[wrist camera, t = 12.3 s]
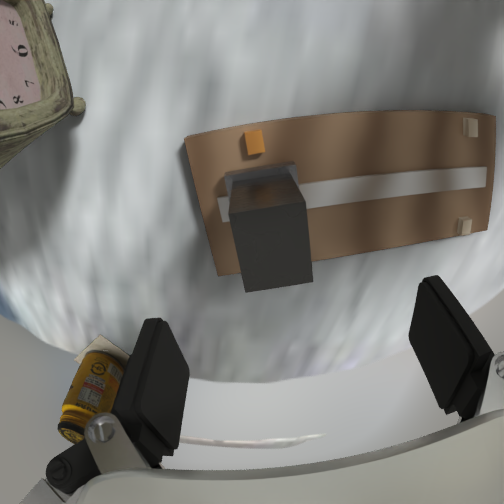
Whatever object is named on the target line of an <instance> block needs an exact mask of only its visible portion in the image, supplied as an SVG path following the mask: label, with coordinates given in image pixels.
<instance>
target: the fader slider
mask: <svg viewBox="0 0 504 504" xmlns="http://www.w3.org/2000/svg"><path fill="white" fill-rule="evenodd" d="M224 179H225V184H226V188H227V193H228V198H229V203H230V204H229V212H228V215H229V220H230V225H231V229H232V234H233V238H234V243H235V247H236V252H237V256H238V261H239V265H240V270H241V274H242V279H243V283H244V288H245V292H253V291H259V290H266V289H272V288H279V287H285V286H291V285H297V284H303V283H309V282H313V274H312V261H311V249H310V238H309V228H308V217H307V208H306V201H305V199H304V197H303V195H302V194H301V192H300V190H299V184H298V176H297V168H296V164H295V162H294V161H290V162H283V163H276V164H270V165H264V166H257V167H251V168H245V169H240V170H234V171H229V172H225V174H224Z"/></svg>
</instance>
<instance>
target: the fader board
mask: <svg viewBox="0 0 504 504" xmlns="http://www.w3.org/2000/svg"><path fill="white" fill-rule="evenodd" d="M184 141H185V145H186V150H187V154H188V158H189V163H190V167H191V171H192V175H193V179H194V184H195V188H196V192H197V196H198V200H199V204H200V208H201V212H202V216H203V220H204V224H205V228H206V232H207V236H208V240H209V243H210V247H211V251H212V255H213V259H214V262H215V266H216V270H217V274H218V276H223V275H230V274H236V273H241V270H240V265H239V261H238V256H237V252H236V247H235V243H234V238H233V234H232V229H231V225H230V220H229V215H228V212H229V204H230V203H229V198H228V193H227V188H226V184H225V179H224V174H225V172H229V171H234V170H240V169H245V168H251V167H257V166H264V165H270V164H276V163H283V162H290V161H294V162H295V164H296V168H297V176H298V184H299V190H300V192H301V194H302V195H303V197H304V199H305V201H306V208H307V217H308V228H309V238H310V249H311V261H318V260H324V259H330V258H336V257H342V256H348V255H354V254H360V253H365V252H371V251H377V250H383V249H388V248H394V247H400V246H405V245H411V244H416V243H422V242H427V241H433V240H438V239H443V238H449V237H454V236H459V235H461V236H464V235H469V234H470V233H475V232H480V231H485V230H487V228H488V222H489V215H490V208H491V201H492V192H493V182H494V169H495V148H496V116H493V115H489V114H483V113H471V112H456V111H432V110H387V111H361V112H345V113H332V114H321V115H311V116H302V117H293V118H285V119H278V120H271V121H264V122H258V123H252V124H246V125H240V126H234V127H229V128H224V129H218V130H213V131H209V132H204V133H199V134H195V135H190V136H187V137H186V138H184Z"/></svg>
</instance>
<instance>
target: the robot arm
mask: <svg viewBox="0 0 504 504" xmlns="http://www.w3.org/2000/svg"><path fill="white" fill-rule="evenodd" d="M409 341H410V343H411V345H412V347H413V349H414V351H415V353H416V356H417V358H418V360H419V362H420V364H421V366H422V369H423V371H424V373H425V375H426V377H427V380H428V382H429V384H430V386H431V389H432V391H433V393H434V396H435V398H436V400H437V403H438V405H439V407H440V408H441V409H444V411H445V413H446V415H447V414H450V413H452V412H455V411H457V412H458V414H459V419H458V422H457V424H456V425H454V426H451V427H449V428H446V429H443V430H440V431H438V432H435V433H432V434H429V435H426V436H423V437H420V438H417V439H414V440H411V441H408V442H405V443H401V444H398V445H394V446H391V447H387V448H383V449H380V450H376V451H372V452H367V453H363V454H359V455H354V456H350V457H345V458H340V459H334V460H329V461H323V462H317V463H310V464H303V465H296V466H286V467H276V468H265V469H249V470H175V469H165V468H164V466H163V465H162V464H161V461H162V456H173V453H174V449H177V448H178V445H179V439H180V432H181V425H182V418H183V411H184V406H185V399H186V393H187V387H188V381H189V367H188V365H187V363H186V361H185V359H184V357H183V355H182V352H181V350H180V348H179V346H178V344H177V342H176V340H175V338H174V336H173V333H172V331H171V329H170V327H169V325H168V323H167V322H166V321H163V320H162V319H161V318H150V319H145V321H144V323H143V326H142V329H141V331H140V334H139V337H138V340H137V342H136V345H135V348H134V351H133V354H131V355H130V357H129V359H128V361H127V364H126V367H125V370H124V373H123V376H122V379H121V382H120V385H119V388H118V391H117V394H116V397H115V400H114V403H113V406H112V410H111V413H106V412H105V413H99V414H97V415H95V416H93V417H92V418H91V419H90V420H89V421H88V422H87V424H86V427H85V431H84V435H85V438H84V439H82V440H81V441H79V442H78V443H76V444H75V445H73V446H72V447H70V448H68V449H67V450H65V451H64V452H62V453H61V454H59V455H57V456H56V457H54V458H53V459H52V460H51V461H50V462H49V464H48V465H47V468H46V477H47V478H46V479H45V480H44V479H43V478H41V480H40V481H39V482H38V483H37V484H36V485H35V486H34V487H33V489H32V490H31V491H30V492H29V493H28V494H27V495H26V497H25V498H24V499H23V500H22V501H21V502H20V503H19V504H504V351H503V352H499V353H497V354H496V355H494V353H493V351H492V350H491V348H490V347H489V345H488V343H487V342H486V340H485V339H484V337H483V336H482V334H481V333H480V331H479V330H478V329H477V327H476V326H475V324H474V322H473V321H472V320H471V318H470V317H469V315H468V314H467V313H466V311H465V310H464V308H463V307H462V306H461V304H460V303H459V301H458V300H457V299H456V297H455V296H454V295H453V293H452V292H451V291H450V289H449V288H448V287H447V286H446V284H445V283H444V282H443V280H442V279H441V278H440V277H439V276H438V275H435V276H430V277H426V278H424V279H423V280H422V282H421V283H420V284H419V286H418V292H417V297H416V302H415V307H414V312H413V317H412V322H411V326H410V330H409Z"/></svg>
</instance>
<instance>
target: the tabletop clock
mask: <svg viewBox="0 0 504 504" xmlns="http://www.w3.org/2000/svg"><path fill="white" fill-rule="evenodd" d="M52 12H53V6H52V5H51V4H49V3H47V4H45V2H44V0H0V169H1V168H2V167H3V166H4V165H5V164H6V163H7V162H9V161H10V160H11V159H12V158H13V157H14V156H15V155H17V154H18V153H19V152H20V151H21V150H23V149H24V148H25V147H26V146H28V145H29V144H30V143H31V142H33V141H34V140H35V139H36V138H38V137H39V136H40V135H42V134H43V133H44V132H46V131H47V130H48V129H50V128H51V127H52V126H54V125H55V124H57V123H58V122H59V121H61V120H62V119H64V118H65V117H67V116H68V115H69V114H70V115H73V116H78V115H80V114H81V113H82V112H83V111H84V110H85V106H86V104H85V101H84V99H83V98H80V97H74V98H73V92H72V88H71V83H70V79H69V76H68V73H67V69H66V66H65V63H64V59H63V56H62V52H61V49H60V45H59V42H58V39H57V36H56V33H55V30H54V27H53V25H52V22H51V19H50V15H51V14H52Z"/></svg>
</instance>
